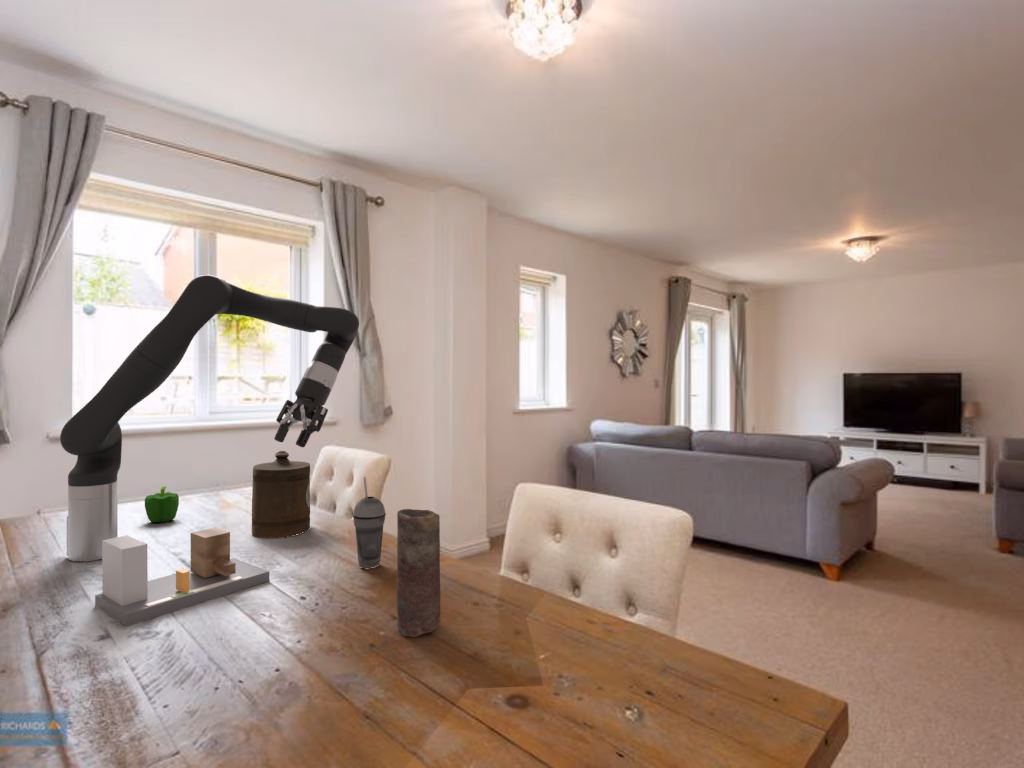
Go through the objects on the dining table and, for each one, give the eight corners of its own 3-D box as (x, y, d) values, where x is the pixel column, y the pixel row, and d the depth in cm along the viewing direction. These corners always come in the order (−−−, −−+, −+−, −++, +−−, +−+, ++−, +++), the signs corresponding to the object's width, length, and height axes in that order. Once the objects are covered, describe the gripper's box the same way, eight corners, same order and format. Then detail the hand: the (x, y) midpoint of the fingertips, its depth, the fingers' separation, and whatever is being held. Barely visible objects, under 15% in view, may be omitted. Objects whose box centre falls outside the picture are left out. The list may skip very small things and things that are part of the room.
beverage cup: (377, 572, 121) (377, 481, 121) (346, 570, 122) (346, 479, 122) (391, 561, 128) (391, 475, 128) (361, 559, 129) (361, 473, 129)
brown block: (215, 564, 118) (215, 527, 118) (242, 575, 112) (242, 536, 112) (190, 571, 114) (190, 532, 114) (217, 583, 108) (217, 542, 108)
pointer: (182, 587, 106) (182, 568, 106) (193, 592, 103) (193, 573, 103) (175, 589, 105) (175, 570, 105) (186, 594, 103) (186, 575, 102)
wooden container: (321, 528, 155) (321, 450, 155) (273, 542, 143) (273, 456, 142) (288, 521, 163) (288, 446, 163) (240, 533, 151) (240, 451, 150)
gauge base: (234, 567, 124) (234, 513, 124) (269, 580, 116) (269, 523, 116) (95, 605, 103) (94, 541, 103) (126, 626, 95) (126, 555, 94)
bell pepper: (167, 525, 158) (167, 490, 157) (138, 525, 158) (138, 489, 158) (185, 517, 166) (185, 484, 166) (158, 517, 166) (157, 484, 166)
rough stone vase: (399, 619, 98) (399, 506, 98) (441, 618, 99) (442, 505, 98) (394, 639, 90) (394, 517, 90) (439, 638, 91) (440, 516, 91)
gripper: (288, 374, 140) (258, 434, 134) (324, 378, 132) (294, 442, 126) (310, 387, 145) (283, 445, 140) (346, 392, 137) (319, 453, 132)
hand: (288, 443), depth 133 cm, fingers open, 8 cm apart
